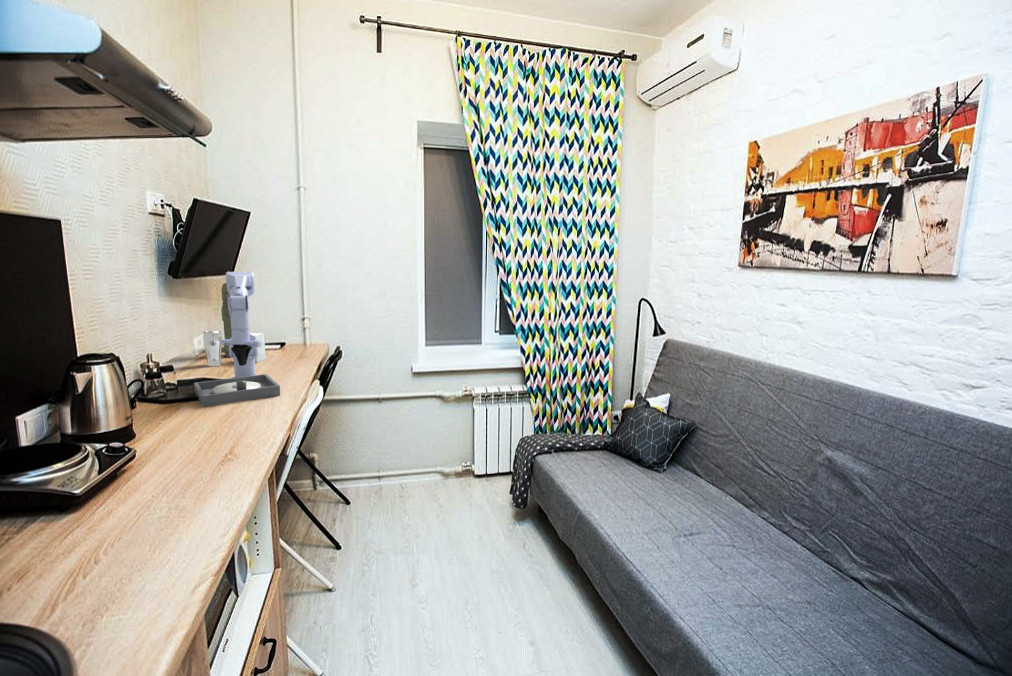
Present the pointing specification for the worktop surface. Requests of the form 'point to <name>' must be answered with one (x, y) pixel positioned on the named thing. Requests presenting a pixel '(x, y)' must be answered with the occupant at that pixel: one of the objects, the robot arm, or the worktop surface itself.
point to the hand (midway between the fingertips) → (242, 365)
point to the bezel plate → (208, 398)
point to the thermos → (226, 317)
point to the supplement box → (261, 349)
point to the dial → (235, 386)
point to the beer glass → (213, 347)
